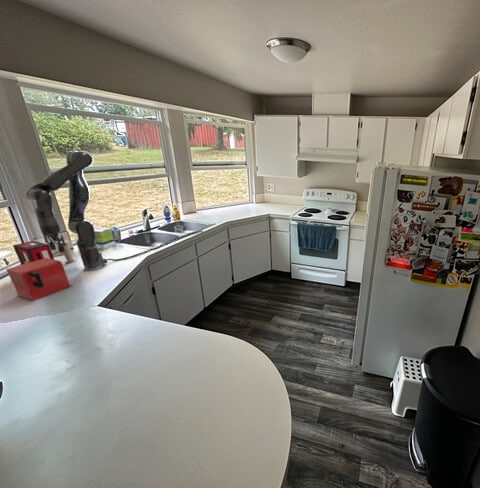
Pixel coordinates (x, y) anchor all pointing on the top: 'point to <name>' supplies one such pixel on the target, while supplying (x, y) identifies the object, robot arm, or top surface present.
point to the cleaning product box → (32, 251)
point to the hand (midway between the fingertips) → (58, 250)
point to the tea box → (104, 237)
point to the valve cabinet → (16, 271)
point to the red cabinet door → (45, 280)
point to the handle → (68, 252)
